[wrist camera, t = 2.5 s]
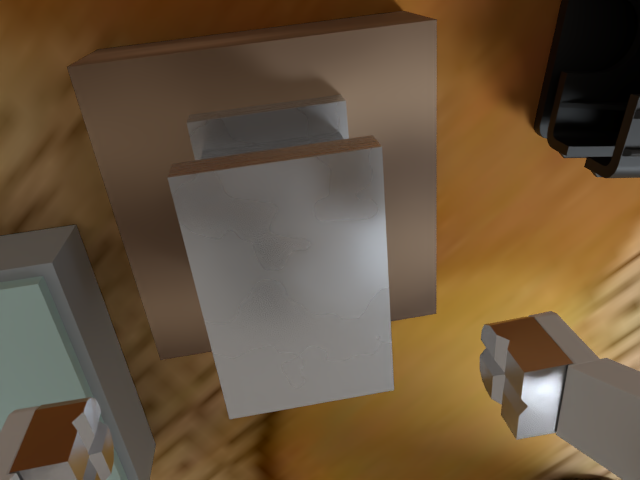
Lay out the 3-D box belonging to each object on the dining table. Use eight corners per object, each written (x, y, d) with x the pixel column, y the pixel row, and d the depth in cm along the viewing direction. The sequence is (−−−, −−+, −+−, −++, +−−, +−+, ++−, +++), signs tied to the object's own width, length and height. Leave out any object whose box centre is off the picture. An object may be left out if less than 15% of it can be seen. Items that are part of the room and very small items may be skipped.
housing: (357, 288, 22) (393, 390, 17) (232, 308, 21) (229, 419, 16) (340, 94, 18) (381, 146, 13) (188, 114, 18) (167, 177, 12)
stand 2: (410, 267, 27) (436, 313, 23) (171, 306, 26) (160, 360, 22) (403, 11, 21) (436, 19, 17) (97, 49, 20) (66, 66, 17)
